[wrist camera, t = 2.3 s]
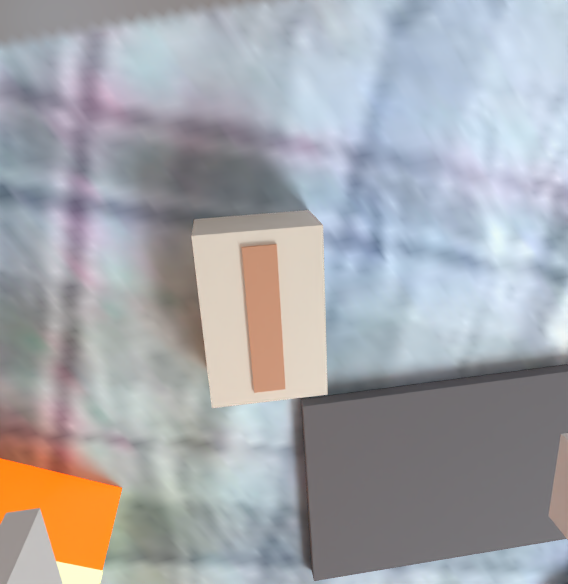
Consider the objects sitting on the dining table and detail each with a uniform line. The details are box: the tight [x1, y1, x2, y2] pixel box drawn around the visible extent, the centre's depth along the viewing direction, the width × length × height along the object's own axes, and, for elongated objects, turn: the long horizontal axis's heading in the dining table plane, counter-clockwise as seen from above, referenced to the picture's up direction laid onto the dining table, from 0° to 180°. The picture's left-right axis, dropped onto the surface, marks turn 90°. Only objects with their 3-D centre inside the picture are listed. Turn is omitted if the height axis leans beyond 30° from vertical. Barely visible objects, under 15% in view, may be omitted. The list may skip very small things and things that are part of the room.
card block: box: [191, 210, 328, 408], centre depth 26 cm, size 6×9×4 cm, turn 3°
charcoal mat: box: [301, 365, 568, 581], centre depth 34 cm, size 20×14×1 cm
